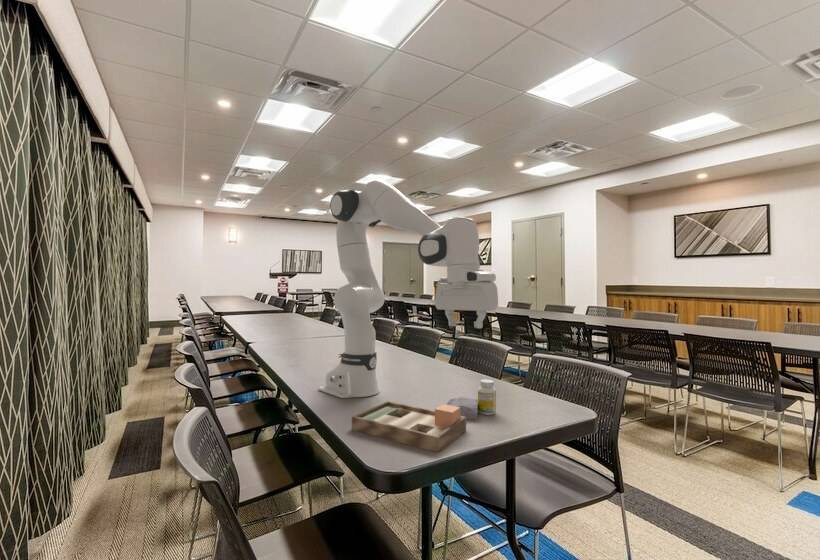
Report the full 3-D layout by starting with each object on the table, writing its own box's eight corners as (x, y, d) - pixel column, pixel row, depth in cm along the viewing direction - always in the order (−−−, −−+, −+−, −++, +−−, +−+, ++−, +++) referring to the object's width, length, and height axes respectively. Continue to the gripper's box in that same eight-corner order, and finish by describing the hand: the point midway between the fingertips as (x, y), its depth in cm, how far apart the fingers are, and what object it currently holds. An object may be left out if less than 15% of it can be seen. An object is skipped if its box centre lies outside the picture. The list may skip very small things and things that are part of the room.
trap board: (351, 429, 101) (352, 416, 102) (387, 412, 116) (387, 401, 116) (437, 452, 88) (437, 437, 88) (466, 429, 102) (466, 417, 102)
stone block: (445, 424, 111) (480, 420, 110) (442, 408, 112) (476, 403, 110) (449, 413, 123) (480, 409, 121) (446, 398, 124) (477, 393, 122)
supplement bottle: (489, 416, 113) (489, 384, 113) (474, 412, 117) (474, 380, 117) (499, 412, 117) (499, 381, 117) (484, 408, 121) (484, 378, 121)
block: (434, 424, 99) (434, 408, 99) (443, 418, 104) (443, 404, 104) (452, 428, 97) (452, 412, 97) (460, 422, 101) (460, 407, 101)
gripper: (429, 277, 110) (430, 325, 109) (484, 273, 94) (486, 330, 93) (445, 277, 114) (446, 324, 113) (500, 274, 98) (502, 328, 97)
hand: (465, 327), depth 103 cm, fingers open, 8 cm apart
